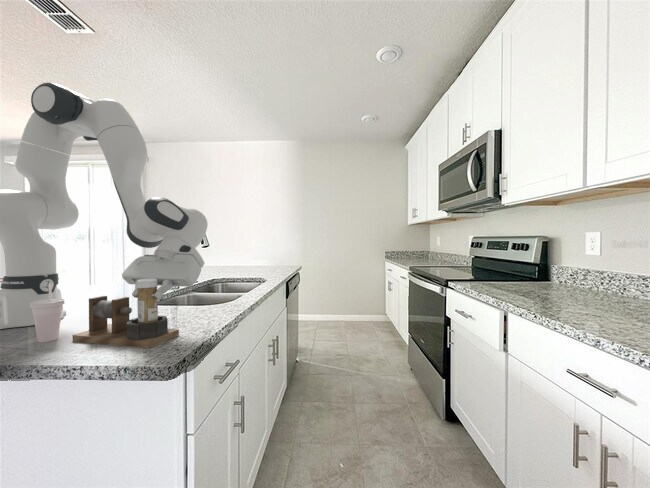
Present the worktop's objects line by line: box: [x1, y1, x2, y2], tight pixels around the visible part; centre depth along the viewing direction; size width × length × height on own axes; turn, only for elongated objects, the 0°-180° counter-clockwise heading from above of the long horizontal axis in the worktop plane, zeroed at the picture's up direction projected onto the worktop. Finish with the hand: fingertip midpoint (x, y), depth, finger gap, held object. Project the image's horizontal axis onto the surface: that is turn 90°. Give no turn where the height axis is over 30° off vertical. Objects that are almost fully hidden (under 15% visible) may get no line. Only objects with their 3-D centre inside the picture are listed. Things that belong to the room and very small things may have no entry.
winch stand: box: [72, 295, 180, 349], centre depth 77 cm, size 22×10×10 cm, turn 78°
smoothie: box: [30, 283, 65, 343], centre depth 75 cm, size 6×6×14 cm
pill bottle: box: [136, 278, 159, 324], centre depth 75 cm, size 5×5×13 cm
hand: (145, 297), depth 75 cm, fingers closed on pill bottle, 4 cm apart
